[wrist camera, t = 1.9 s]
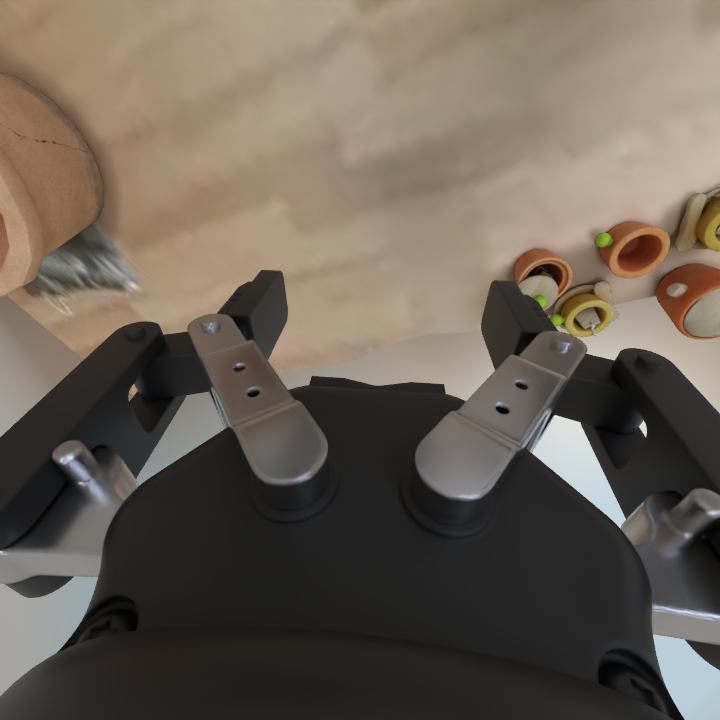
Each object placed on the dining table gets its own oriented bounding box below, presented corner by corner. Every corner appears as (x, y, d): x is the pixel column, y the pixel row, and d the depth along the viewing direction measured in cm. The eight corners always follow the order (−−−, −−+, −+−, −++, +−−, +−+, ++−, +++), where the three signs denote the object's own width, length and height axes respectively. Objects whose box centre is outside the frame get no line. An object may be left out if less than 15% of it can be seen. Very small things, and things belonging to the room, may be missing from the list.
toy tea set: (773, 164, 34) (876, 185, 27) (732, 298, 43) (802, 343, 35) (498, 243, 42) (518, 277, 34) (510, 344, 51) (529, 389, 43)
